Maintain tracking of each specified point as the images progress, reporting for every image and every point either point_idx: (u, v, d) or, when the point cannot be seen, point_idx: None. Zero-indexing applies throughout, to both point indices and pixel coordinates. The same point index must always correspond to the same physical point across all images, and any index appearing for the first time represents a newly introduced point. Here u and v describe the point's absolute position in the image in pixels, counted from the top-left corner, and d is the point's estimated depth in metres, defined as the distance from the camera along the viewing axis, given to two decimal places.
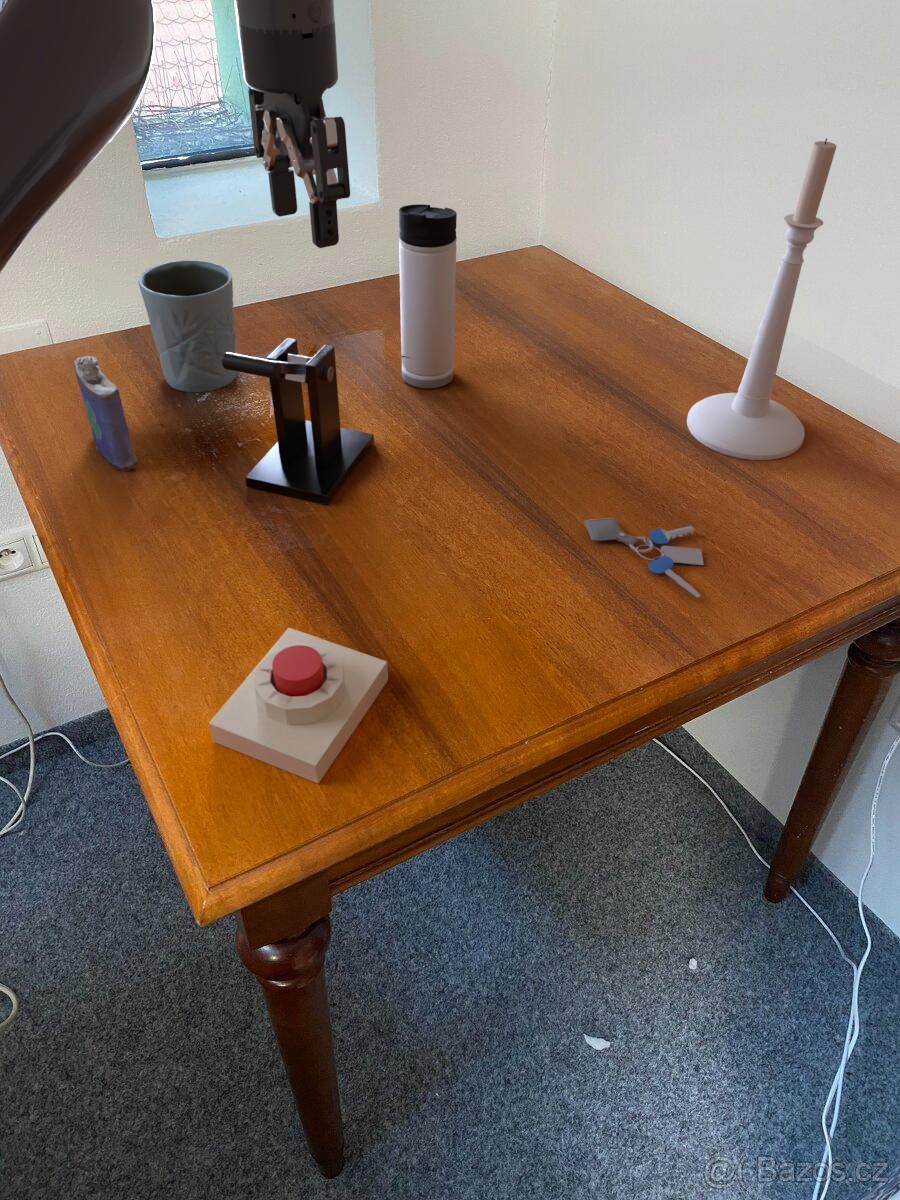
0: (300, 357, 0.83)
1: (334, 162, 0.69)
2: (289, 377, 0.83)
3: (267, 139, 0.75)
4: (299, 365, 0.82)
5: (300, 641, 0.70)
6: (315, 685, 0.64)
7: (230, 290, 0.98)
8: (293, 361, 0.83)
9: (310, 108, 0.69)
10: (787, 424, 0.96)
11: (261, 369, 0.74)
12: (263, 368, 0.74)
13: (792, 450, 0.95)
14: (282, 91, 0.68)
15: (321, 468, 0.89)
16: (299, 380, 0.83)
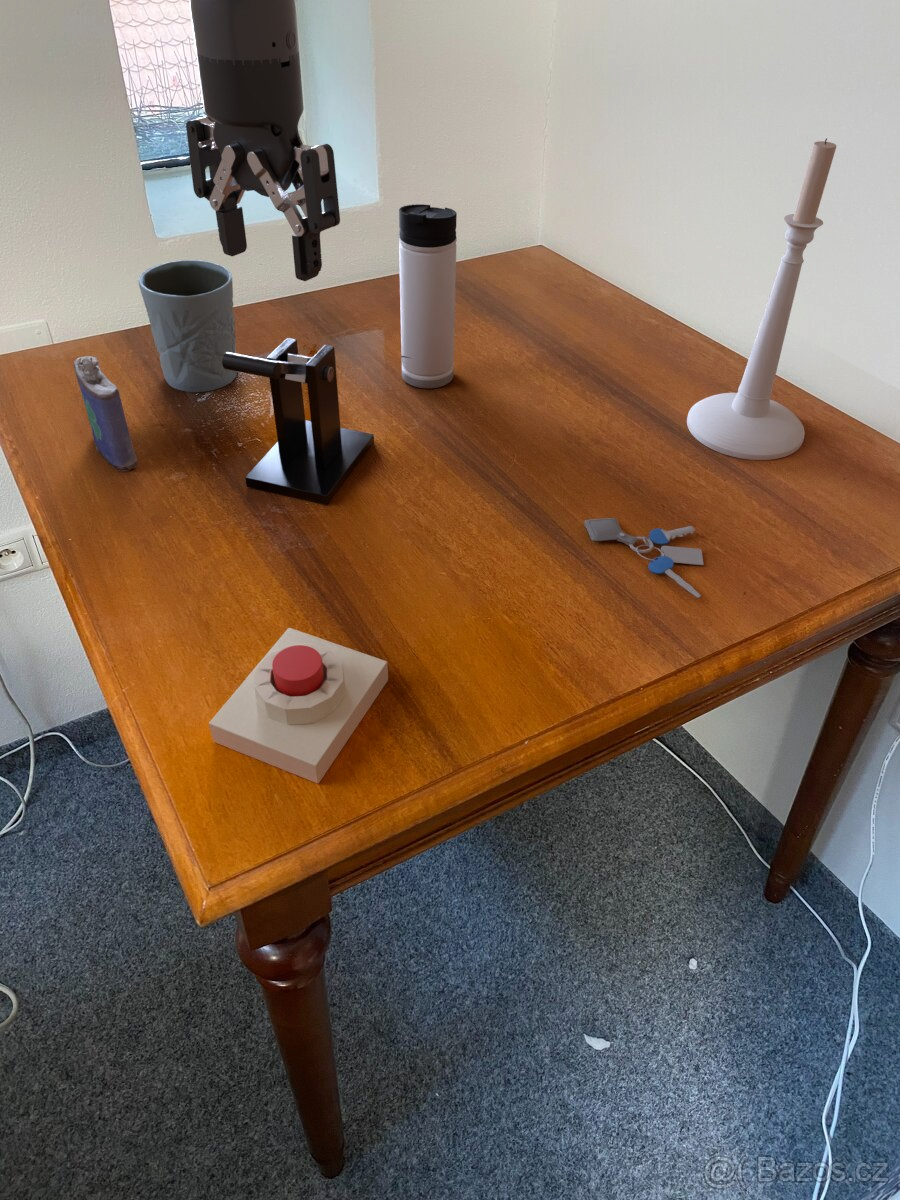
0: (300, 357, 0.83)
1: (326, 191, 0.67)
2: (289, 377, 0.83)
3: (225, 176, 0.70)
4: (299, 365, 0.82)
5: (300, 641, 0.70)
6: (315, 685, 0.64)
7: (230, 290, 0.98)
8: (293, 361, 0.83)
9: (289, 138, 0.66)
10: (787, 424, 0.96)
11: (261, 369, 0.74)
12: (263, 368, 0.74)
13: (792, 450, 0.95)
14: (262, 123, 0.65)
15: (321, 468, 0.89)
16: (299, 380, 0.83)
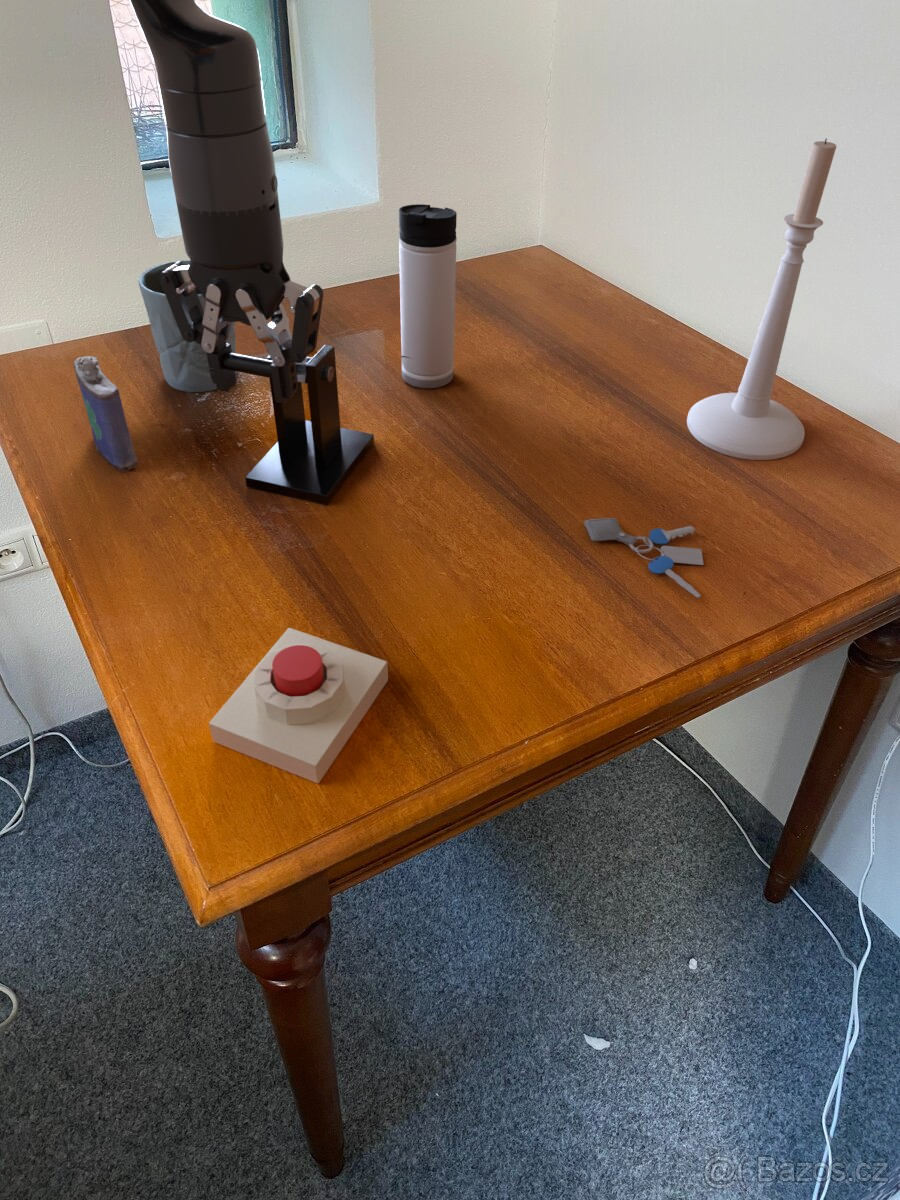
0: None
1: (313, 327, 0.71)
2: None
3: (214, 315, 0.71)
4: (299, 365, 0.82)
5: (300, 641, 0.70)
6: (315, 685, 0.64)
7: None
8: None
9: (278, 273, 0.68)
10: (787, 424, 0.96)
11: (261, 369, 0.74)
12: (263, 368, 0.74)
13: (792, 450, 0.95)
14: (256, 264, 0.66)
15: (321, 468, 0.89)
16: (299, 380, 0.83)
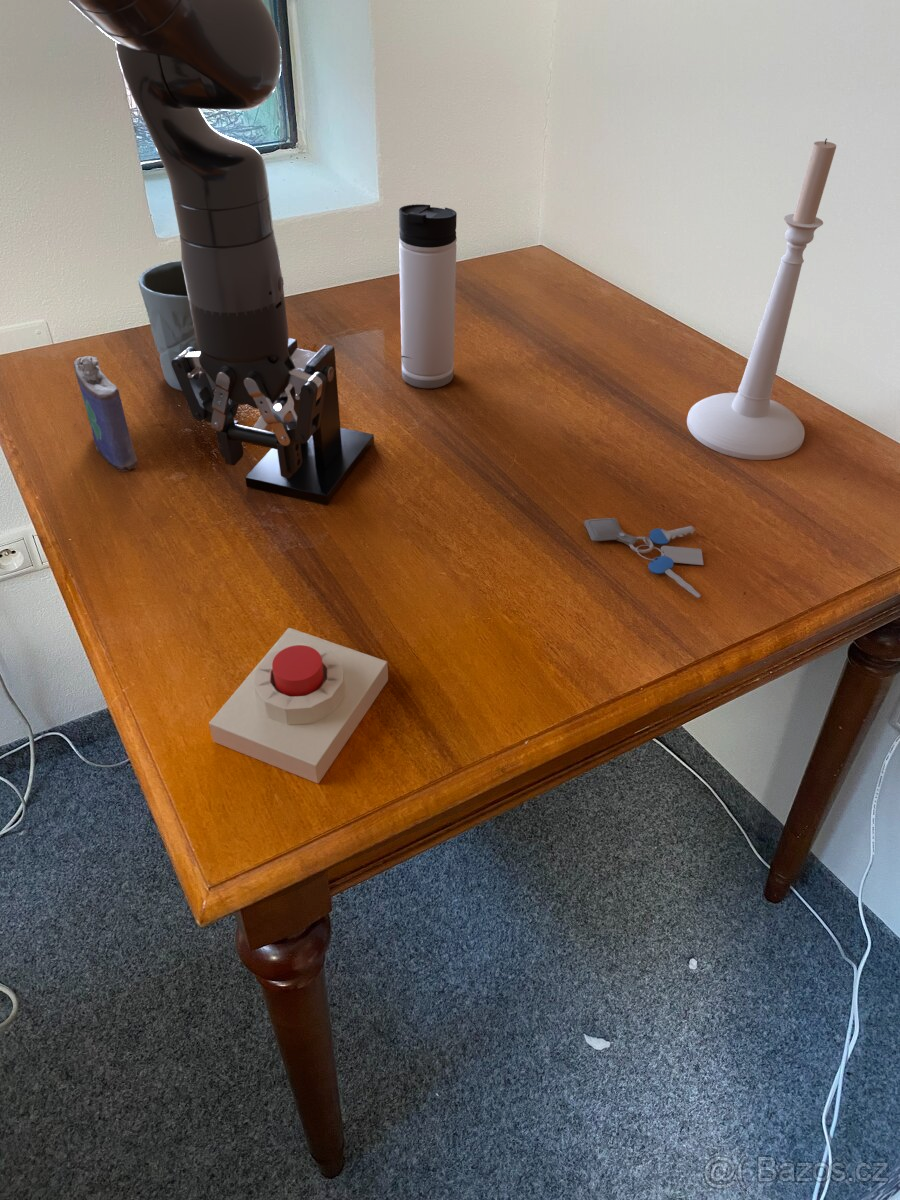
0: (297, 369, 0.83)
1: (316, 411, 0.75)
2: None
3: (223, 399, 0.75)
4: None
5: (300, 641, 0.70)
6: (315, 685, 0.64)
7: None
8: None
9: (284, 362, 0.73)
10: (787, 424, 0.96)
11: (266, 445, 0.78)
12: (267, 445, 0.78)
13: (792, 450, 0.95)
14: (263, 357, 0.71)
15: (321, 468, 0.89)
16: None
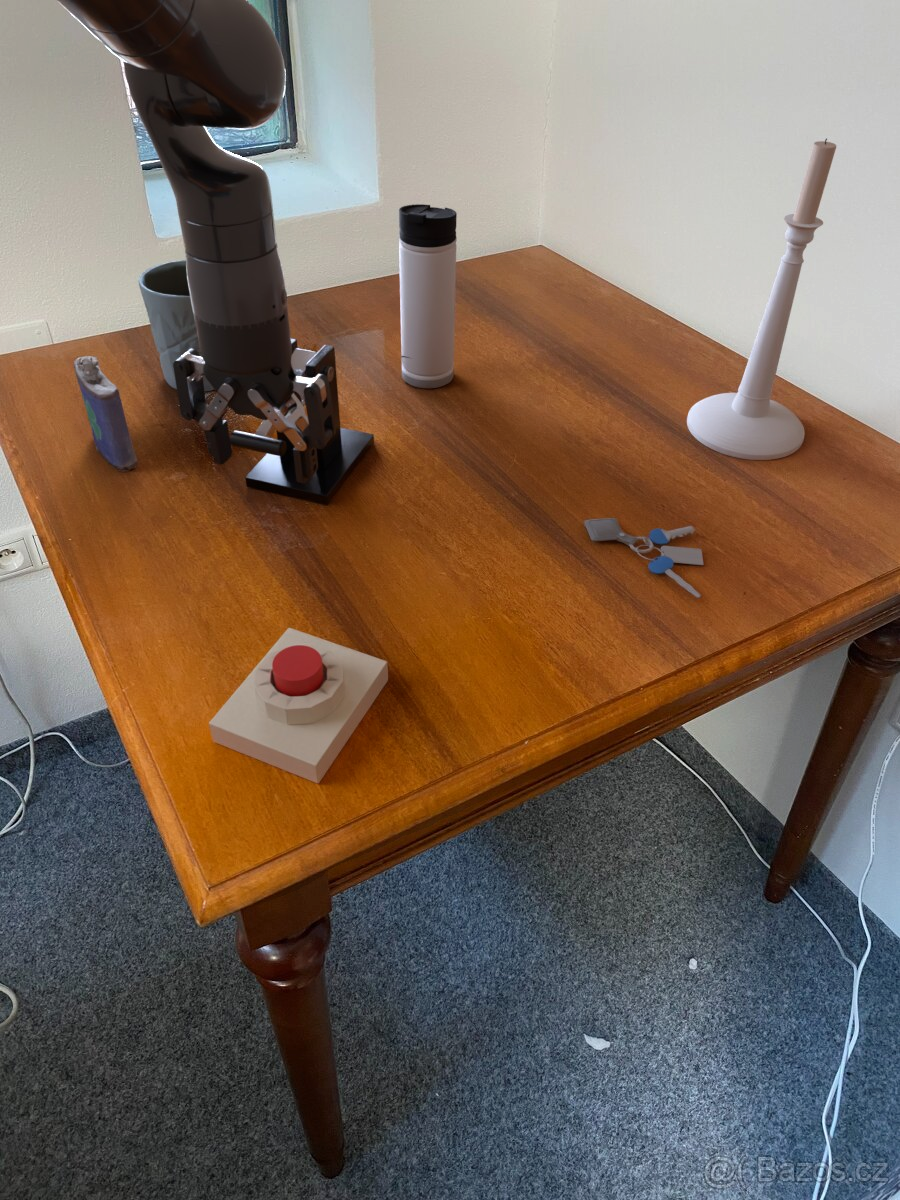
0: (297, 370, 0.83)
1: (326, 413, 0.75)
2: None
3: (220, 406, 0.76)
4: None
5: (300, 641, 0.70)
6: (315, 685, 0.64)
7: None
8: None
9: (287, 374, 0.74)
10: (787, 424, 0.96)
11: (268, 452, 0.79)
12: (269, 452, 0.79)
13: (792, 450, 0.95)
14: (267, 369, 0.72)
15: (321, 468, 0.89)
16: None
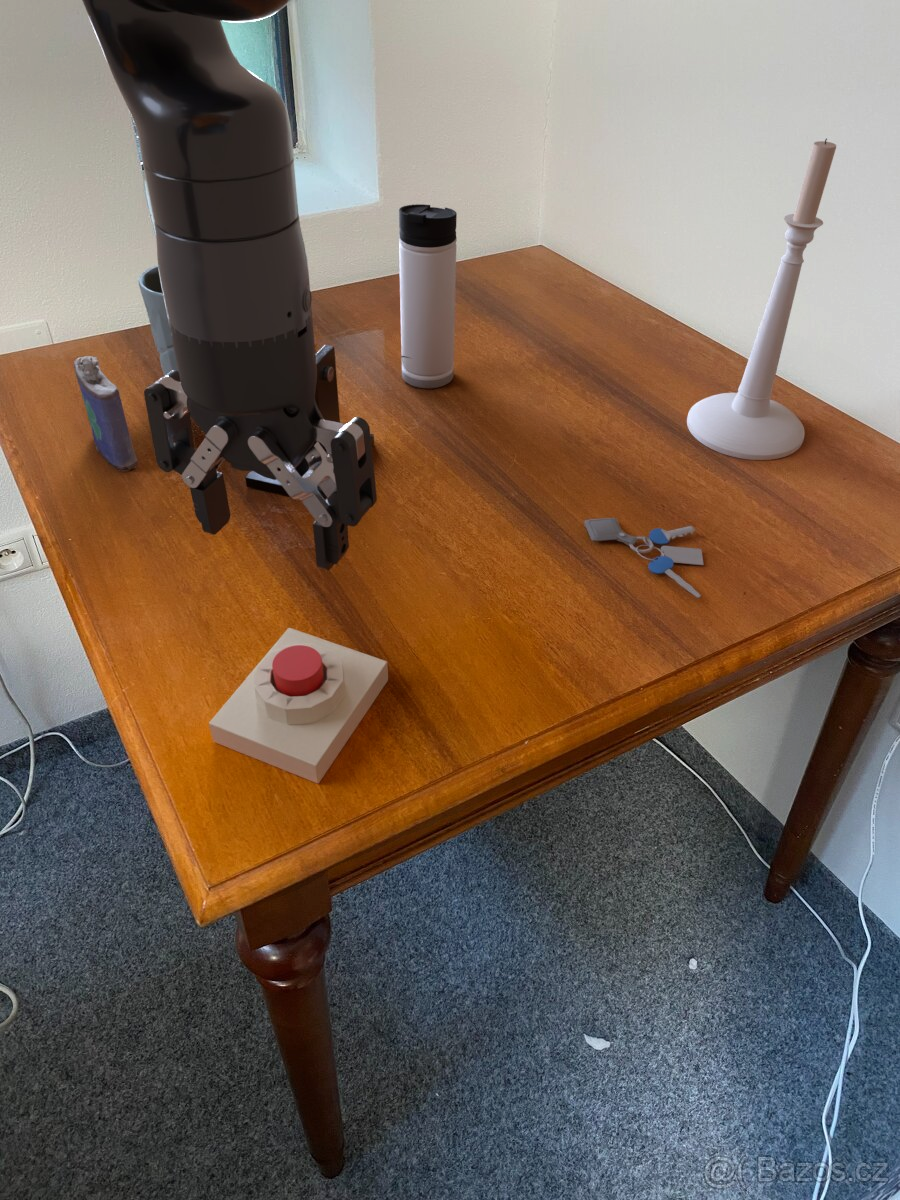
0: None
1: (364, 475, 0.50)
2: None
3: (210, 456, 0.52)
4: None
5: (300, 641, 0.70)
6: (315, 685, 0.64)
7: None
8: None
9: (308, 416, 0.49)
10: (787, 424, 0.96)
11: None
12: None
13: (792, 450, 0.95)
14: (276, 409, 0.47)
15: None
16: None
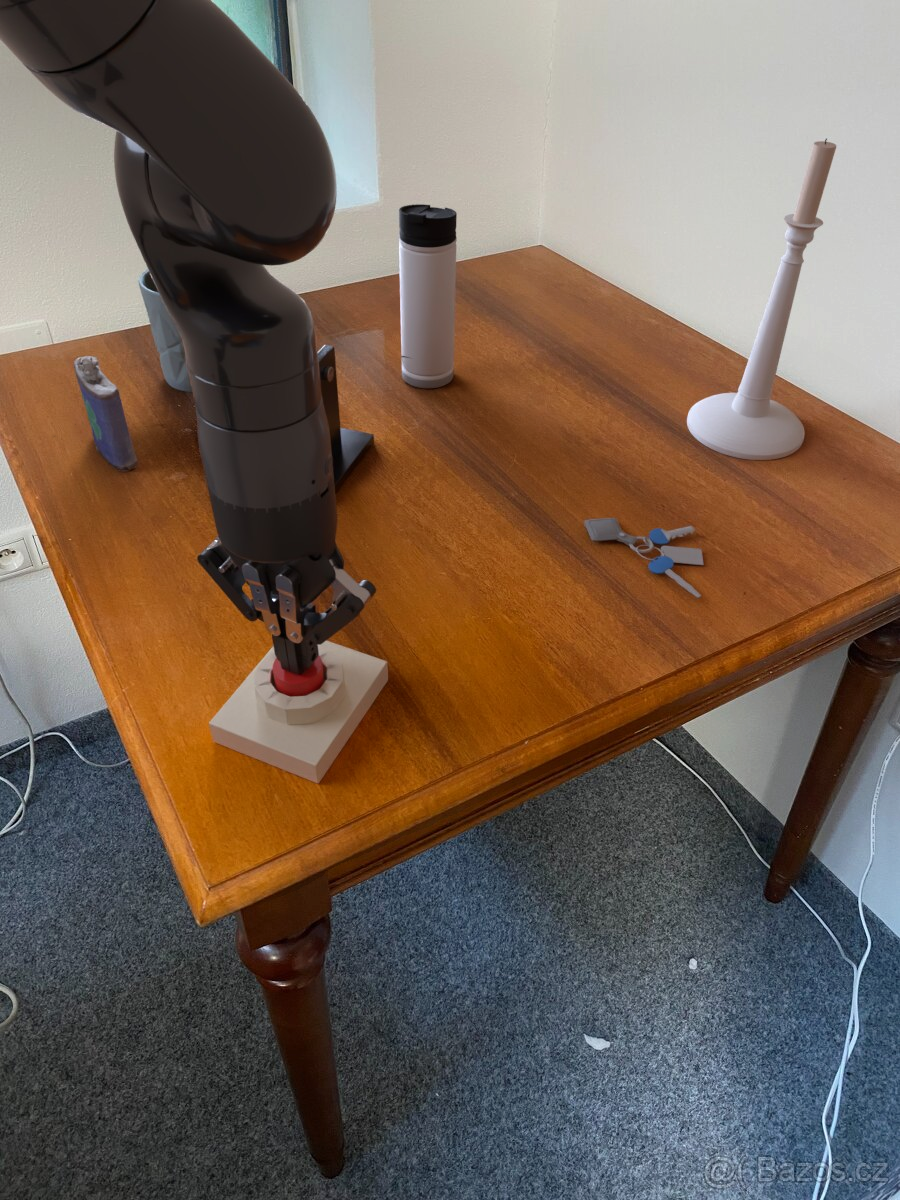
0: None
1: None
2: None
3: (262, 596, 0.58)
4: None
5: None
6: (315, 687, 0.64)
7: None
8: None
9: (329, 558, 0.55)
10: (787, 424, 0.96)
11: None
12: None
13: (792, 450, 0.95)
14: (301, 557, 0.53)
15: None
16: None
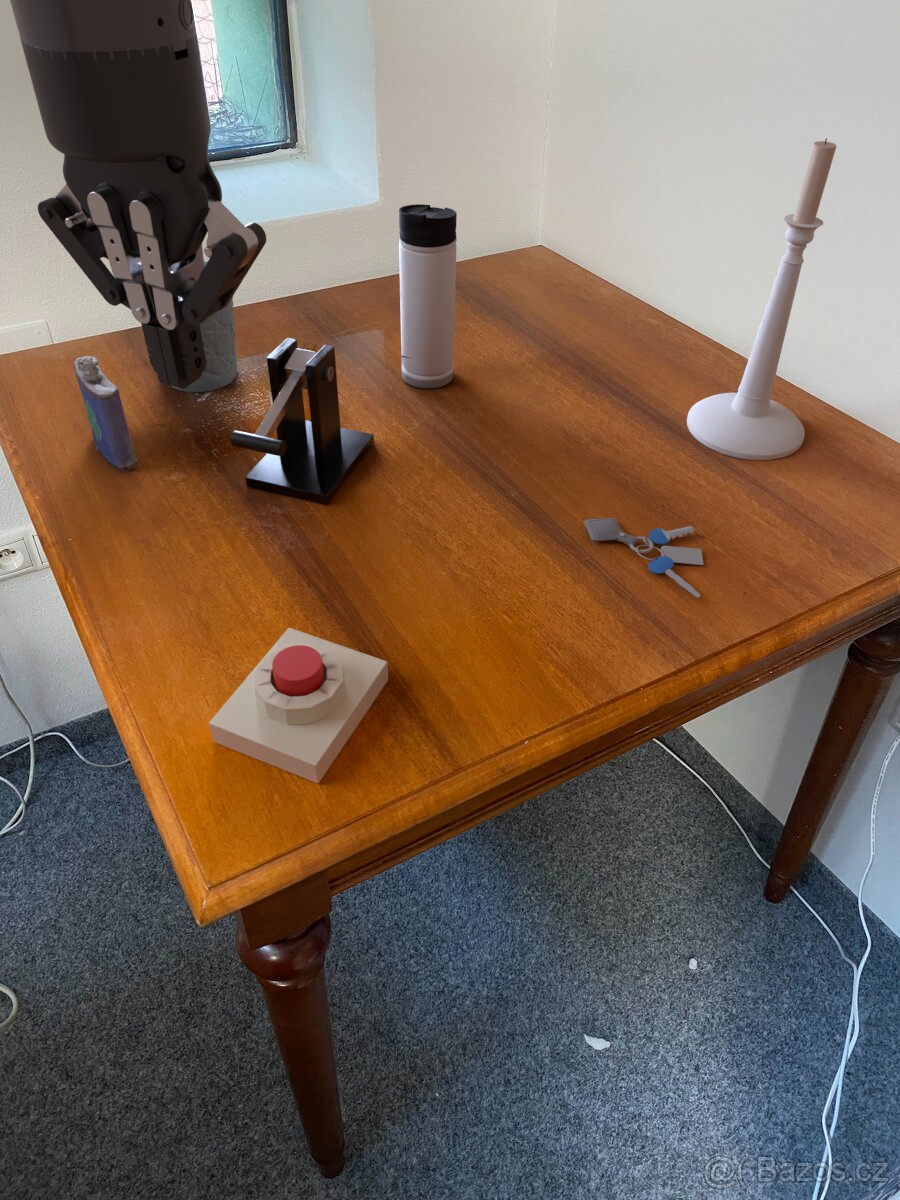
0: (297, 370, 0.83)
1: (232, 284, 0.45)
2: None
3: (118, 249, 0.44)
4: (299, 380, 0.83)
5: (300, 641, 0.70)
6: (315, 685, 0.64)
7: None
8: (291, 373, 0.83)
9: (198, 175, 0.41)
10: (787, 424, 0.96)
11: (268, 452, 0.79)
12: (269, 452, 0.79)
13: (792, 450, 0.95)
14: (154, 155, 0.39)
15: (321, 468, 0.89)
16: (303, 387, 0.84)
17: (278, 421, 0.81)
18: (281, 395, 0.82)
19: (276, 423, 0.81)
